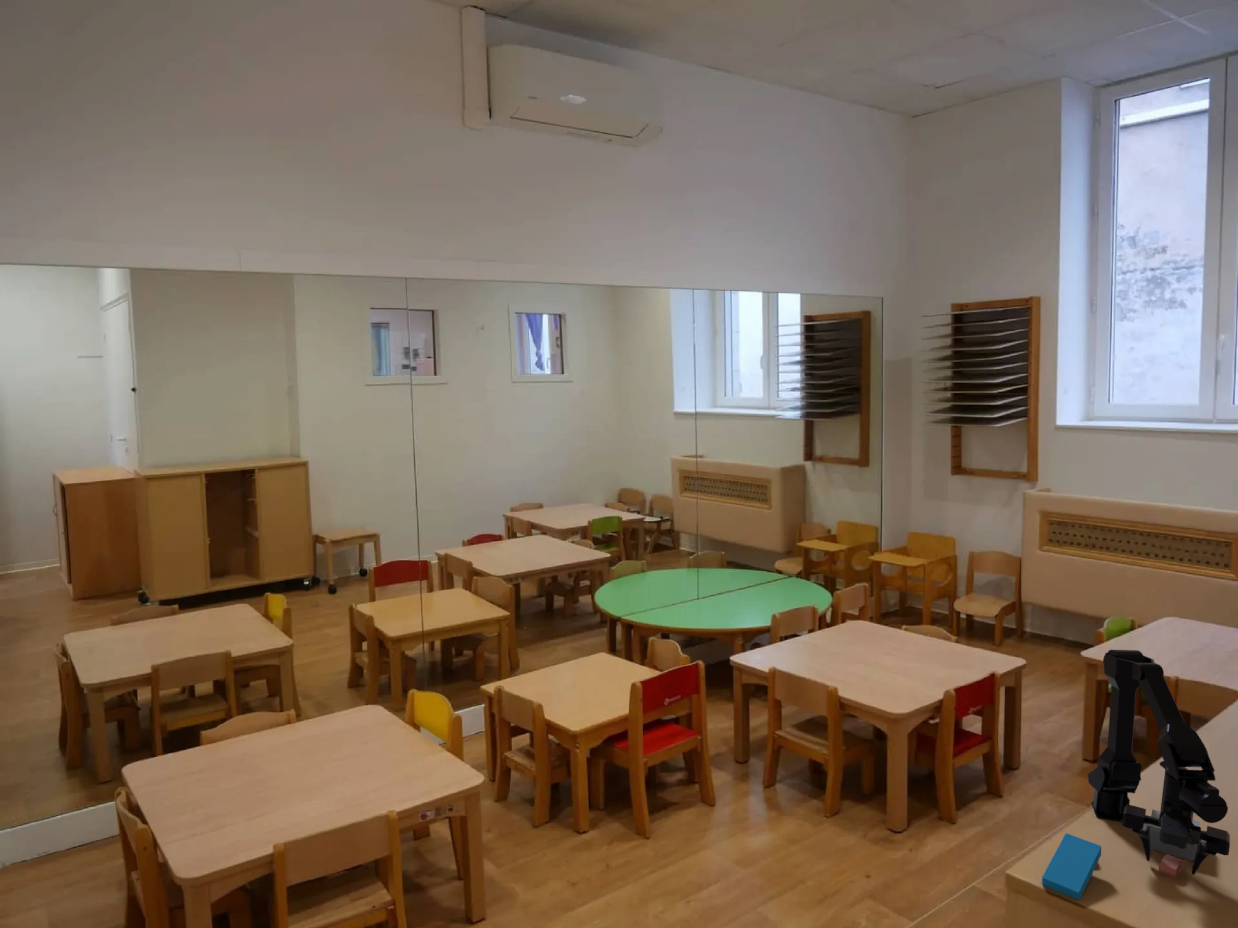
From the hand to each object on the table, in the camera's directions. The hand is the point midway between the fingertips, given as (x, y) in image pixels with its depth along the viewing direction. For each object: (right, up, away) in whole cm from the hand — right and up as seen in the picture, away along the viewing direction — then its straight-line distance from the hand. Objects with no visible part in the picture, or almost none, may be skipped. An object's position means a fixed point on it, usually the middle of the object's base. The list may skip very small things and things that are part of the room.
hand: (1170, 866), depth 185 cm
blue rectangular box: (-21, -1, -2) cm, 21 cm away
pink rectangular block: (0, -1, 0) cm, 1 cm away
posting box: (+7, 0, +10) cm, 12 cm away
